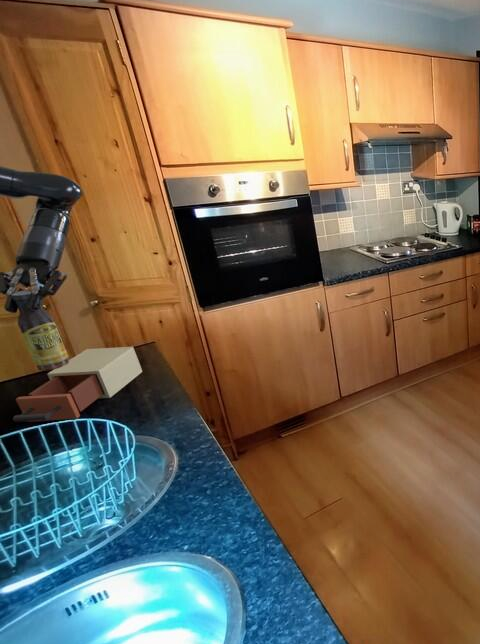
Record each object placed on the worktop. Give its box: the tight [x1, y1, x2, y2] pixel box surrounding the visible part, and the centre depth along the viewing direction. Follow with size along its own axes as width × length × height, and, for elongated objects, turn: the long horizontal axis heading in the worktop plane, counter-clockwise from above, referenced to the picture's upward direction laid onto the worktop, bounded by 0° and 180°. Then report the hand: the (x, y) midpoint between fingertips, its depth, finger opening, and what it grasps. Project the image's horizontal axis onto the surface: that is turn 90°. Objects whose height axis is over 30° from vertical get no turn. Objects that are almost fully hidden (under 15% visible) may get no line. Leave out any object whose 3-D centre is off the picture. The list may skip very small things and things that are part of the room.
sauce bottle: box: [12, 289, 70, 372], centre depth 111 cm, size 7×6×20 cm
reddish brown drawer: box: [12, 374, 104, 423], centre depth 118 cm, size 19×12×7 cm, turn 7°
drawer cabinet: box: [46, 346, 143, 400], centre depth 131 cm, size 15×13×9 cm
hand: (21, 310), depth 107 cm, fingers closed on sauce bottle, 4 cm apart
